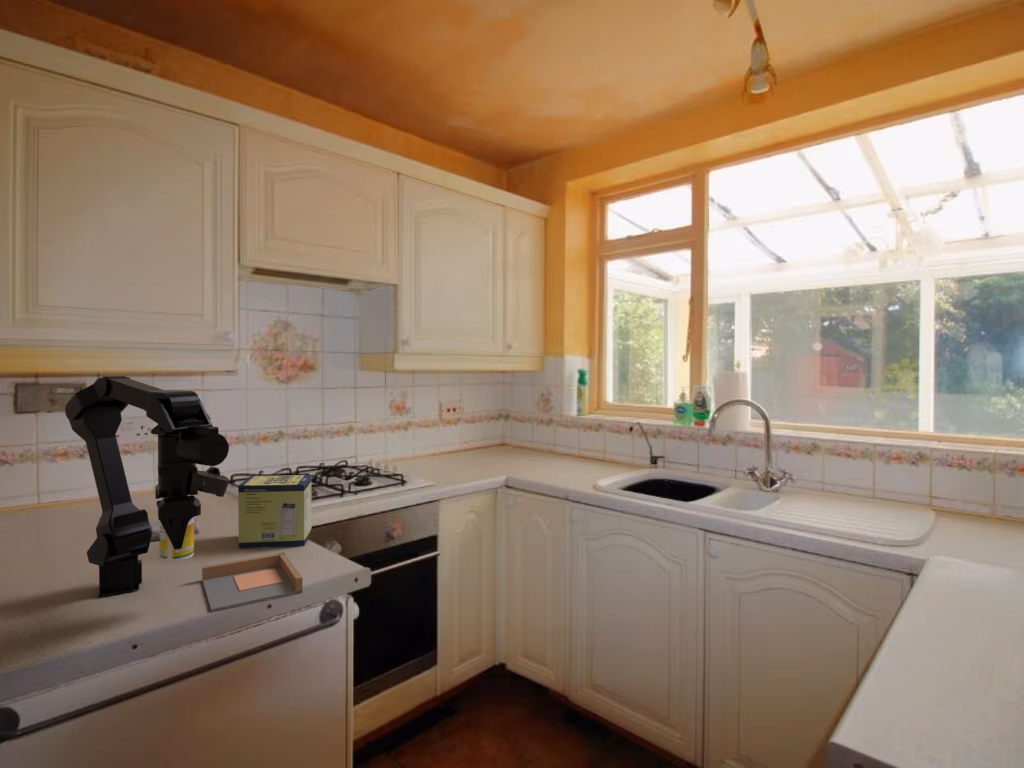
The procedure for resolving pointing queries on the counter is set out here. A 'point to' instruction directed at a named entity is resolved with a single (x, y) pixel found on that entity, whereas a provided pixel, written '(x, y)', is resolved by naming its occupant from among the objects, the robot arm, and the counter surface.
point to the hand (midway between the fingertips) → (177, 544)
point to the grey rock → (156, 528)
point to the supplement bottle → (177, 555)
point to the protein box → (274, 511)
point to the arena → (250, 581)
